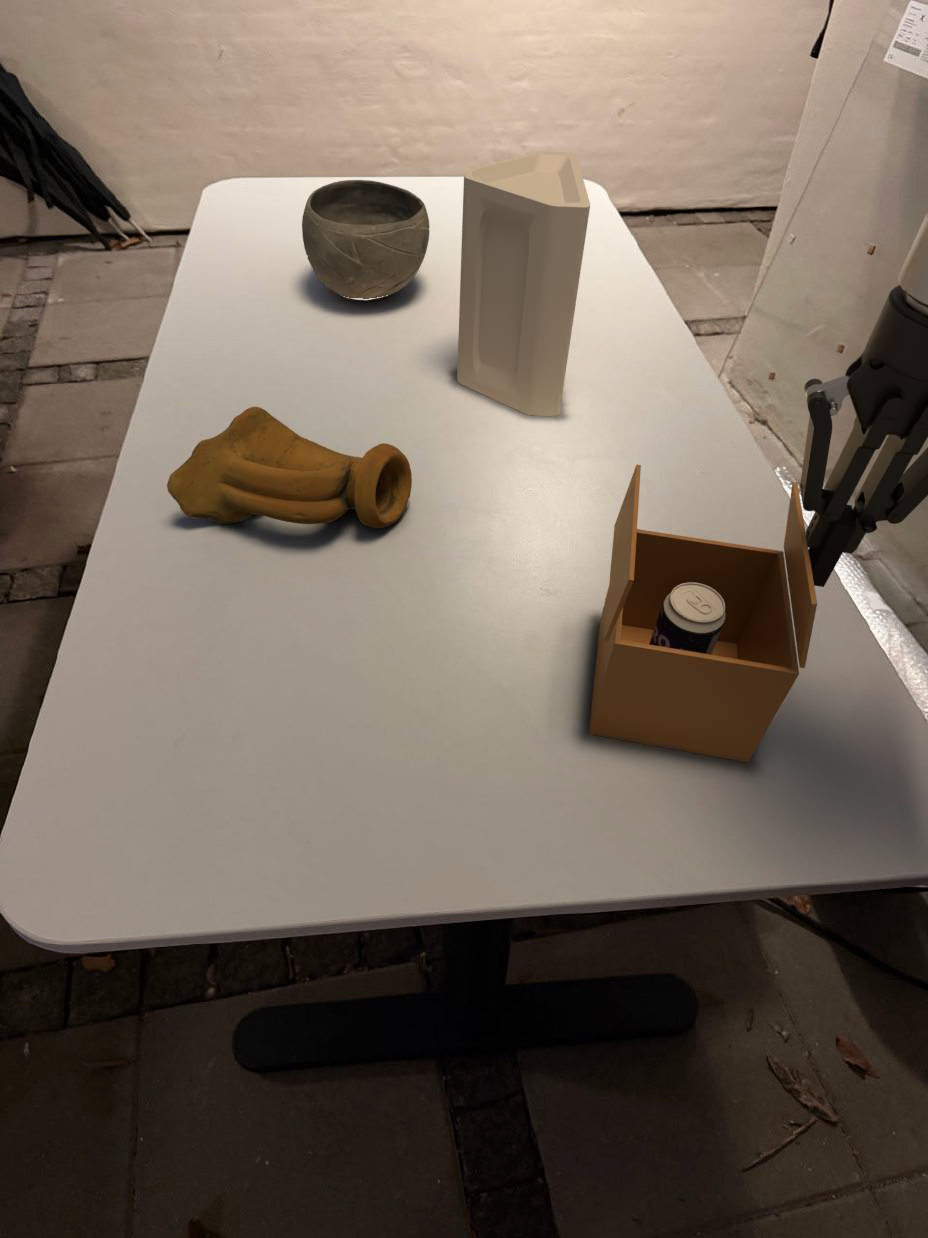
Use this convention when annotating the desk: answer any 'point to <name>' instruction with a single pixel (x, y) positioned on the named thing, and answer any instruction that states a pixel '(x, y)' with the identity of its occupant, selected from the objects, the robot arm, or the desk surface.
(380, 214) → the bowl
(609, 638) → the carton
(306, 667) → the desk surface
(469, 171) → the tall recessed triangular prism
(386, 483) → the brown looped sculpture
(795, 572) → the flap
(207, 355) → the desk surface
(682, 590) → the beverage can
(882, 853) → the desk surface
